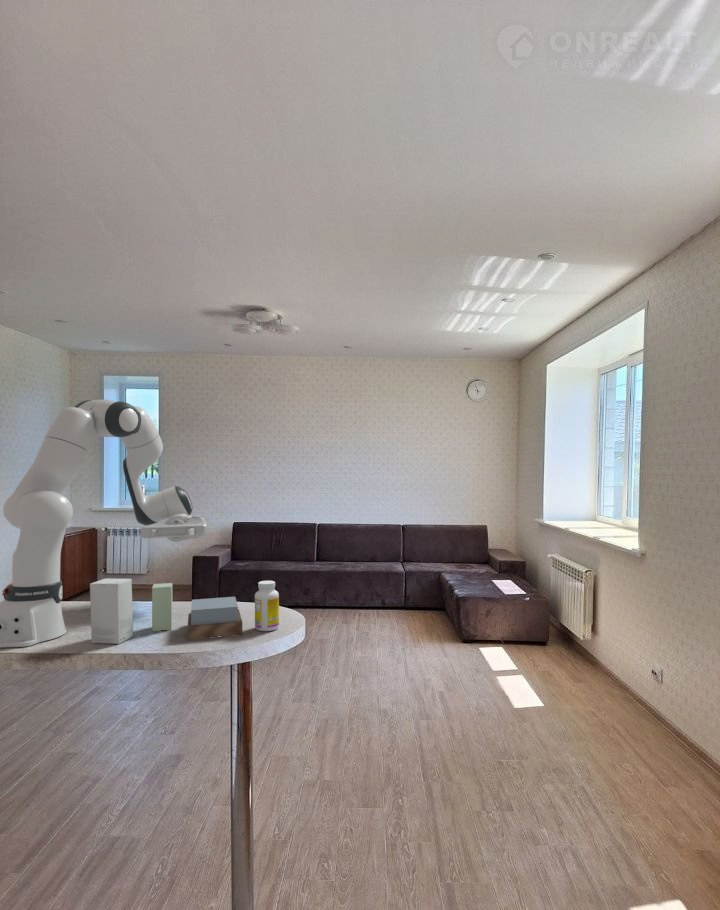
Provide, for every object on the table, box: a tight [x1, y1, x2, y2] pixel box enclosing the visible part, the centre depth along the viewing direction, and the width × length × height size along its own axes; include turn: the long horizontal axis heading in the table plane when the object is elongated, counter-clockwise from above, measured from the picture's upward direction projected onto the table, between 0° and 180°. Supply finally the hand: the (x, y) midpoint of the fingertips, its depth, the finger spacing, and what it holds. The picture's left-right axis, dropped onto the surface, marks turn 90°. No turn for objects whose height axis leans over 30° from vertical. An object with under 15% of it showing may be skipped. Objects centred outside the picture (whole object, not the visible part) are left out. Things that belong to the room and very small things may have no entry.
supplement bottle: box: [254, 580, 280, 632], centre depth 149 cm, size 7×7×13 cm
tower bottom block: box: [187, 608, 243, 641], centre depth 148 cm, size 14×14×4 cm
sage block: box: [151, 582, 173, 632], centre depth 150 cm, size 5×5×12 cm
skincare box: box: [89, 578, 134, 645], centre depth 140 cm, size 8×7×16 cm
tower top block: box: [190, 596, 239, 626], centre depth 148 cm, size 12×12×4 cm
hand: (171, 533), depth 166 cm, fingers open, 8 cm apart
